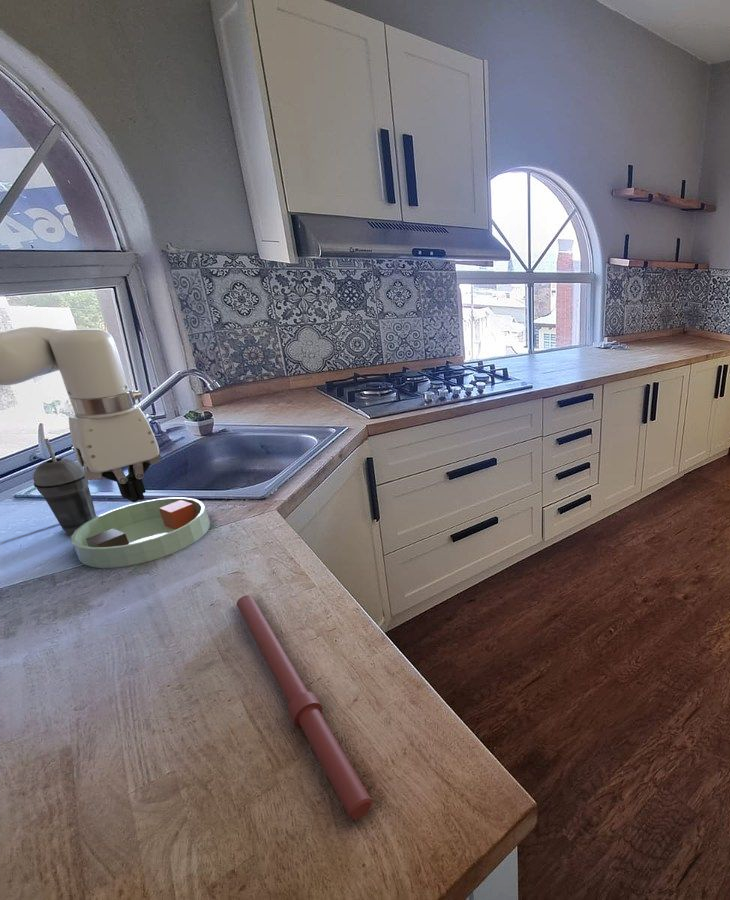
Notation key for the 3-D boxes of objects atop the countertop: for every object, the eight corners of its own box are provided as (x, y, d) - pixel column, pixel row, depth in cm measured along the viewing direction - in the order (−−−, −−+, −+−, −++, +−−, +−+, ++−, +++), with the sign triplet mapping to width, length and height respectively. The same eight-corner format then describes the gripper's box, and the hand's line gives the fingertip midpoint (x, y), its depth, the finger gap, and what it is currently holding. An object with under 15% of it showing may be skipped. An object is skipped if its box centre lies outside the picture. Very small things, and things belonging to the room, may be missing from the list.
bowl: (108, 583, 85) (99, 560, 83) (61, 550, 93) (52, 529, 91) (230, 531, 101) (224, 512, 99) (181, 507, 109) (175, 489, 107)
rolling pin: (379, 809, 52) (375, 789, 51) (348, 832, 50) (343, 812, 49) (258, 604, 81) (254, 588, 80) (235, 613, 79) (230, 597, 78)
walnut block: (105, 563, 89) (97, 544, 88) (93, 557, 90) (85, 538, 89) (132, 551, 92) (125, 533, 91) (120, 546, 94) (112, 528, 92)
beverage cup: (100, 518, 104) (64, 428, 96) (114, 528, 101) (78, 436, 93) (51, 534, 98) (9, 439, 91) (64, 545, 95) (21, 448, 87)
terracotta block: (176, 530, 100) (170, 512, 98) (164, 525, 101) (158, 508, 100) (198, 521, 103) (192, 503, 102) (186, 516, 105) (180, 499, 103)
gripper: (146, 390, 93) (172, 479, 100) (33, 410, 81) (72, 510, 88) (166, 397, 90) (192, 489, 97) (52, 418, 78) (91, 521, 84)
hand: (135, 498), depth 92 cm, fingers closed
